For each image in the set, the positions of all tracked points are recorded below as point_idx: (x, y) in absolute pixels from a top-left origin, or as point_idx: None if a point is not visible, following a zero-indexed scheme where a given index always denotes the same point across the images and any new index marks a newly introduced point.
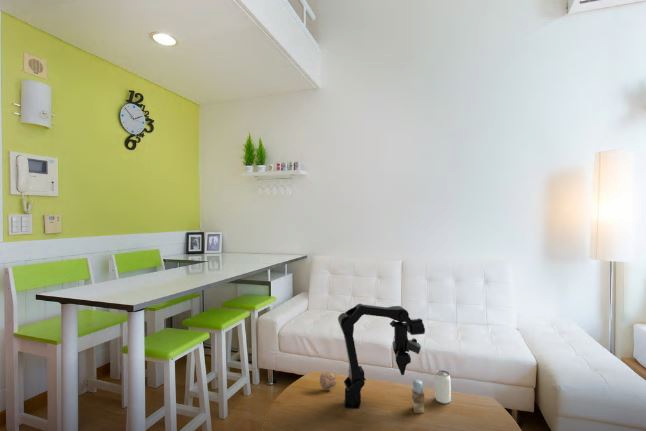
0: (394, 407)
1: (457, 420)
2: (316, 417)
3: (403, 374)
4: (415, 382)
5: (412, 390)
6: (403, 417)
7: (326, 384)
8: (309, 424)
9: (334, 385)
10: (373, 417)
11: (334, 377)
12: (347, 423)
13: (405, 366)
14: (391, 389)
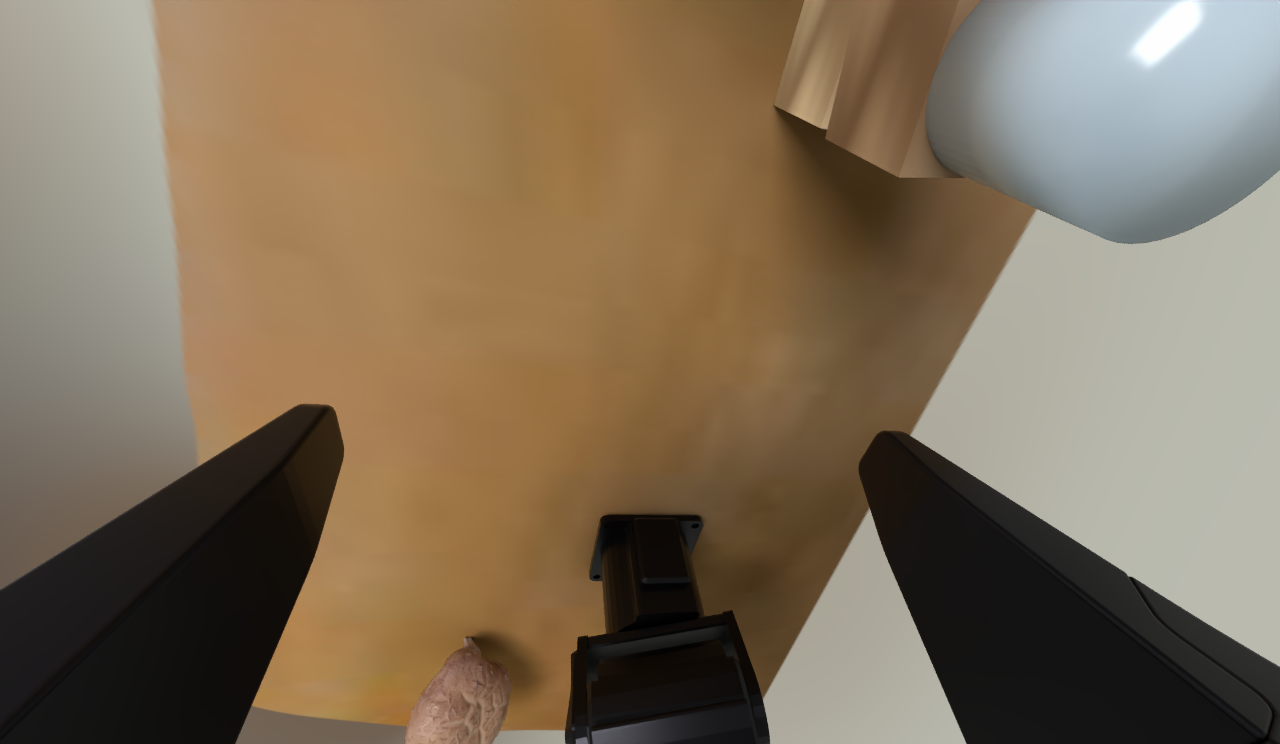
0: (735, 303)
1: None
2: None
3: (906, 448)
4: (1190, 195)
5: (912, 173)
6: (903, 258)
7: (504, 699)
8: (784, 649)
9: (472, 656)
10: (821, 451)
11: (442, 711)
12: (828, 553)
13: (1259, 674)
14: (365, 269)
